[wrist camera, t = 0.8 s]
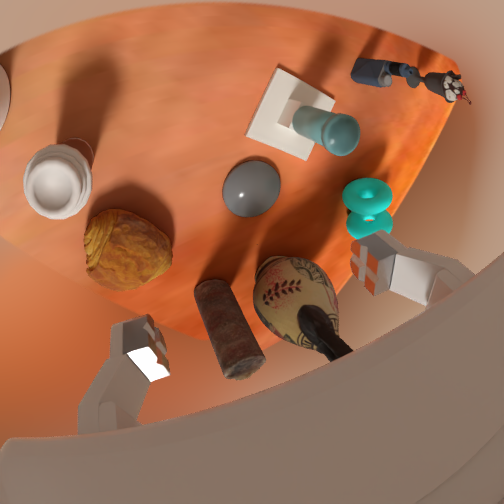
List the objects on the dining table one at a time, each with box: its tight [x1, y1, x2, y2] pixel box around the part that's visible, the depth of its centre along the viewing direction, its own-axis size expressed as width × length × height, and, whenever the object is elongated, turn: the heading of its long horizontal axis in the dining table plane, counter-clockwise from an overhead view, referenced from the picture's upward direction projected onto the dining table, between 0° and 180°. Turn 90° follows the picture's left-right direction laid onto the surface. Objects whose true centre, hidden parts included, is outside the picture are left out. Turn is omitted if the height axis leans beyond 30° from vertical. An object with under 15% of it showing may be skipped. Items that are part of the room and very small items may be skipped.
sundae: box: [406, 67, 471, 104], centre depth 38 cm, size 7×7×15 cm
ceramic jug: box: [253, 244, 353, 362], centre depth 49 cm, size 17×15×30 cm
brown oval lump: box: [83, 209, 173, 291], centre depth 42 cm, size 14×16×8 cm
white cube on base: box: [245, 68, 335, 161], centre depth 40 cm, size 12×12×5 cm
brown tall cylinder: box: [194, 279, 266, 380], centre depth 49 cm, size 8×7×20 cm
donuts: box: [342, 178, 393, 239], centre depth 53 cm, size 10×10×10 cm
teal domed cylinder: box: [292, 106, 360, 156], centre depth 35 cm, size 5×5×9 cm
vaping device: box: [351, 58, 413, 87], centre depth 36 cm, size 3×5×12 cm, turn 157°
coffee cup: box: [23, 138, 94, 219], centre depth 29 cm, size 9×9×12 cm
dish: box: [222, 160, 280, 217], centre depth 47 cm, size 10×10×1 cm
